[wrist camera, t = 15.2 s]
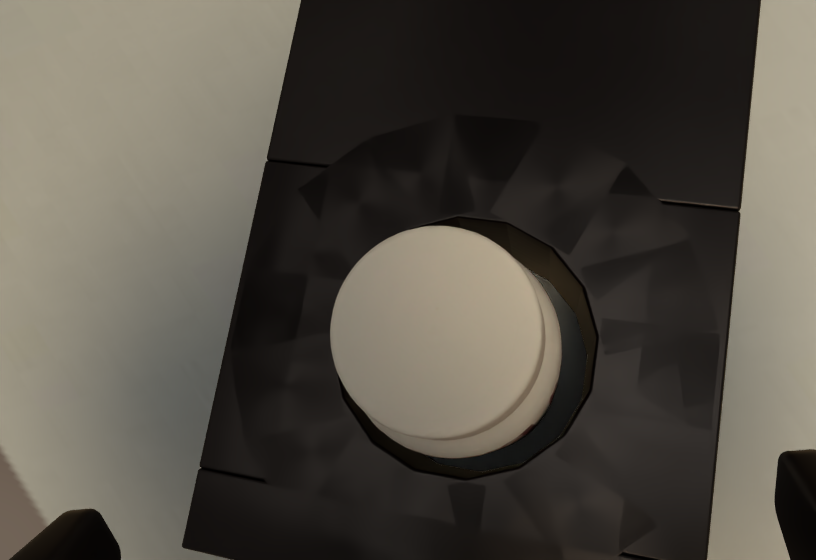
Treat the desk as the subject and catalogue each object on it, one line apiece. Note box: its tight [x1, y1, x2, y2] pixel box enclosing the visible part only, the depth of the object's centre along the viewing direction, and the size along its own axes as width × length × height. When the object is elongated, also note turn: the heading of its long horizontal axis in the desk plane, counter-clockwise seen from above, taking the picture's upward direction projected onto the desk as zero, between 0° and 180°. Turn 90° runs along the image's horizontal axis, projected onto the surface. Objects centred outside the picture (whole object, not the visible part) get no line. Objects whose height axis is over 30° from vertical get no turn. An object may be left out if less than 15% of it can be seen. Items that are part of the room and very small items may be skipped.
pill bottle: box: [330, 226, 562, 459], centre depth 18 cm, size 5×5×8 cm
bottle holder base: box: [182, 0, 761, 560], centre depth 21 cm, size 28×12×4 cm, turn 170°
